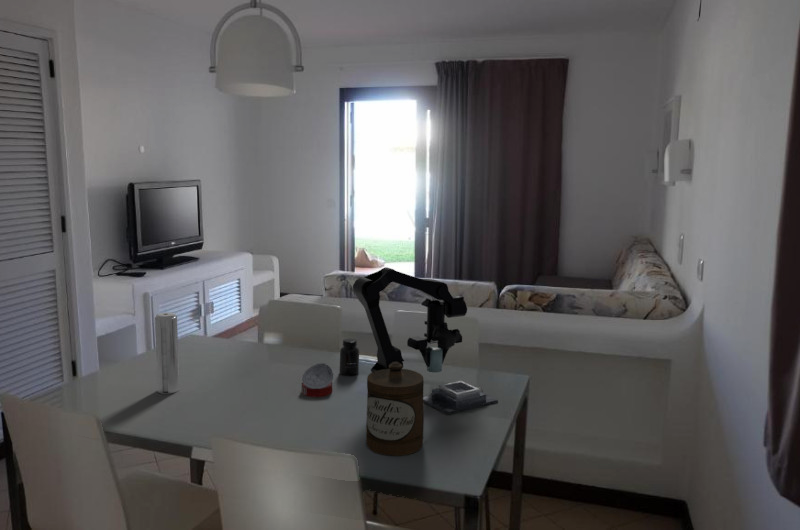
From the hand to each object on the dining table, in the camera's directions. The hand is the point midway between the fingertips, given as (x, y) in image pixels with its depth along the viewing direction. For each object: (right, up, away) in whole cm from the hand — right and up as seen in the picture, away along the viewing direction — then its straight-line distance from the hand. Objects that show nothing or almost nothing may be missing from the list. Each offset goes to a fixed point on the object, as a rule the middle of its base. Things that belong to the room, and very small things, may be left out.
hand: (434, 365), depth 200 cm
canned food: (-38, -8, -4) cm, 39 cm away
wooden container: (-13, -14, -41) cm, 45 cm away
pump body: (0, -2, 0) cm, 2 cm away
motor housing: (+7, -10, -10) cm, 15 cm away
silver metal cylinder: (-85, -7, -6) cm, 86 cm away
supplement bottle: (-29, -5, +15) cm, 33 cm away
